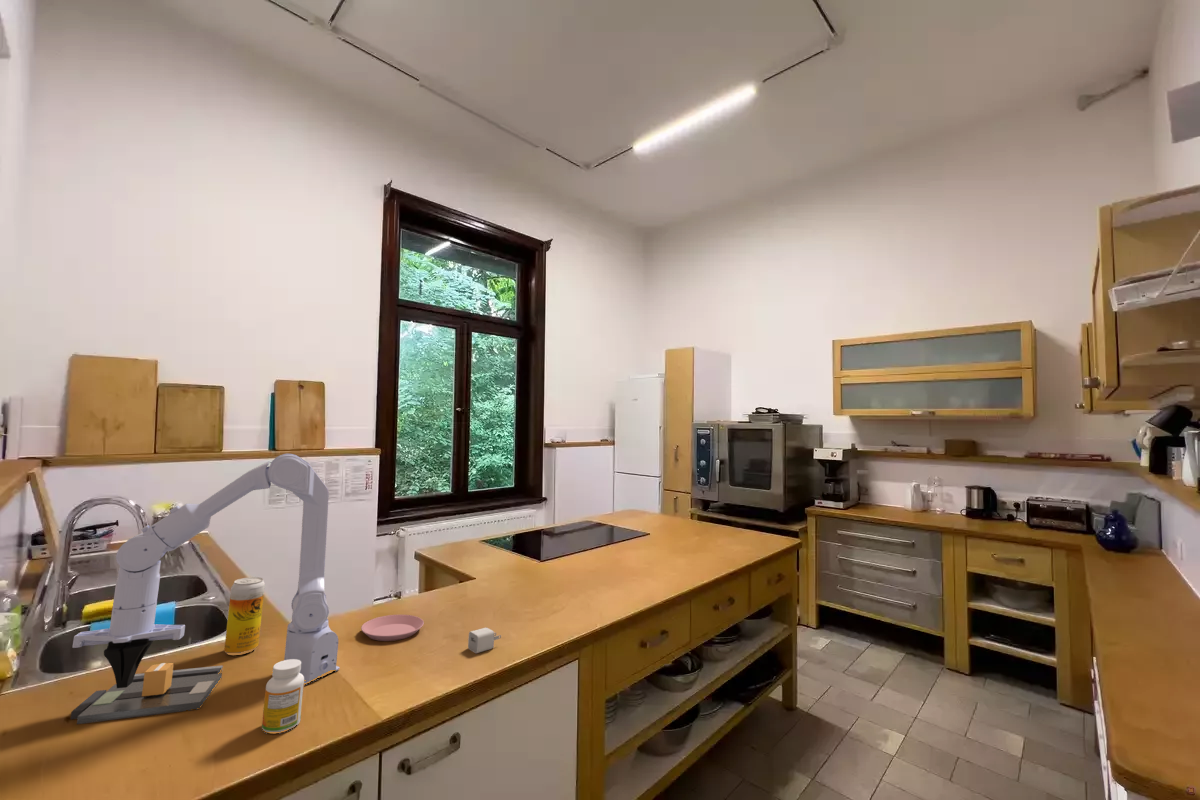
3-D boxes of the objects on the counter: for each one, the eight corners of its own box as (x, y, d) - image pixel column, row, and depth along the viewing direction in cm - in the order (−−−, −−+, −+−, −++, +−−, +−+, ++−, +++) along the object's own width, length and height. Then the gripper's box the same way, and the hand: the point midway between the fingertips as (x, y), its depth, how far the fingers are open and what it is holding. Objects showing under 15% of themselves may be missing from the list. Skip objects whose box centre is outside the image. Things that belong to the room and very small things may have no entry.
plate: (435, 629, 125) (436, 621, 125) (390, 649, 112) (391, 640, 112) (394, 618, 131) (394, 610, 131) (347, 636, 118) (347, 627, 118)
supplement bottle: (273, 716, 84) (279, 656, 84) (306, 716, 84) (312, 657, 85) (253, 735, 78) (260, 671, 79) (289, 735, 79) (295, 671, 79)
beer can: (240, 658, 104) (248, 585, 105) (216, 655, 105) (224, 582, 106) (265, 647, 110) (272, 578, 111) (242, 644, 111) (249, 575, 112)
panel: (221, 679, 95) (222, 672, 95) (199, 709, 85) (200, 701, 85) (113, 691, 89) (114, 683, 89) (76, 724, 79) (77, 715, 79)
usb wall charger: (467, 648, 114) (469, 630, 115) (493, 641, 119) (494, 624, 120) (477, 654, 111) (478, 636, 112) (502, 646, 116) (503, 629, 117)
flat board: (222, 670, 98) (223, 664, 98) (196, 704, 86) (197, 696, 86) (114, 681, 92) (115, 674, 92) (70, 719, 80) (71, 711, 80)
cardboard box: (171, 685, 89) (173, 662, 89) (163, 693, 86) (166, 669, 86) (150, 688, 88) (153, 664, 88) (141, 696, 85) (144, 671, 85)
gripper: (66, 615, 80) (53, 702, 79) (176, 608, 86) (166, 690, 84) (91, 601, 87) (80, 682, 86) (192, 596, 92) (183, 672, 91)
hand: (124, 685), depth 85 cm, fingers closed
